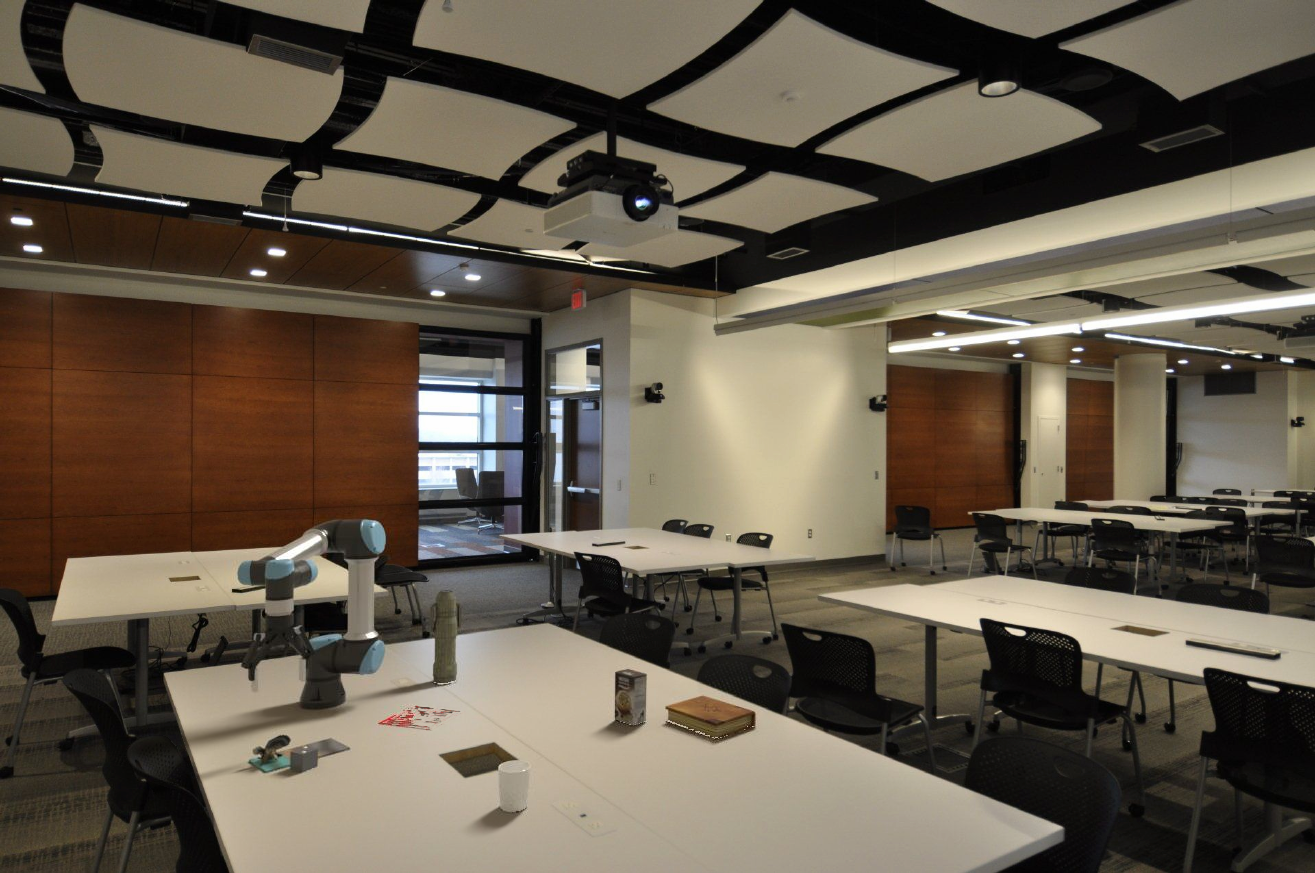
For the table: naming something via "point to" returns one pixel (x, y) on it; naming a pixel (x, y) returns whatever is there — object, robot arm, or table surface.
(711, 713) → the diary
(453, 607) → the thermos
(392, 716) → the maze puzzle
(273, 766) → the track board
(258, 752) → the dark olive curved figure
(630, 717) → the coffee box
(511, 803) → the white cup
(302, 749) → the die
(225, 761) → the table surface
